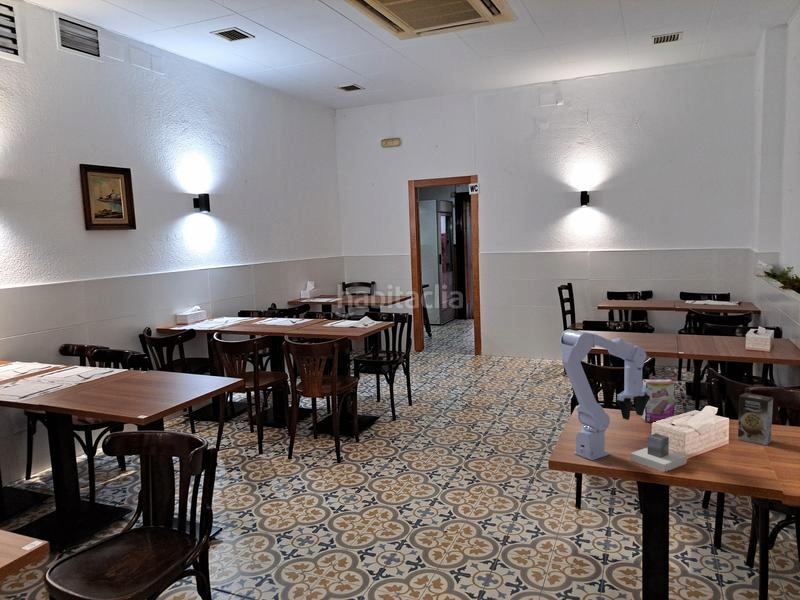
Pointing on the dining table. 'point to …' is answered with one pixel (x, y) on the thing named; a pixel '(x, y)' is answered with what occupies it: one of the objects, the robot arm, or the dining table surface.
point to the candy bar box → (659, 399)
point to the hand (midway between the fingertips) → (632, 417)
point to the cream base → (659, 460)
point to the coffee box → (755, 418)
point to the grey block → (658, 445)
